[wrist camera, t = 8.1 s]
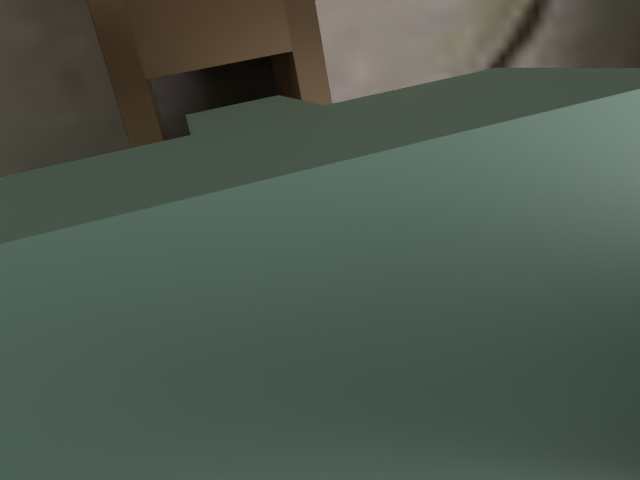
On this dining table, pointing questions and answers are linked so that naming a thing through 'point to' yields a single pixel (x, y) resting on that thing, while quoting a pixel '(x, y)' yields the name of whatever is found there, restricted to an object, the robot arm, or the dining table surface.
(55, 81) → the dining table surface
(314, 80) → the rail
